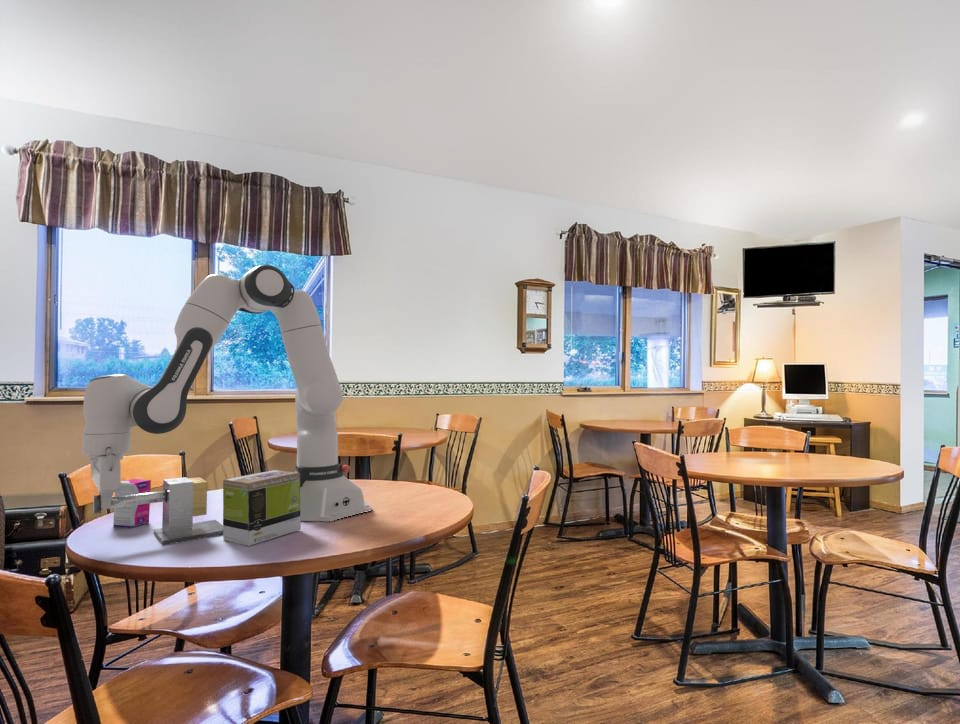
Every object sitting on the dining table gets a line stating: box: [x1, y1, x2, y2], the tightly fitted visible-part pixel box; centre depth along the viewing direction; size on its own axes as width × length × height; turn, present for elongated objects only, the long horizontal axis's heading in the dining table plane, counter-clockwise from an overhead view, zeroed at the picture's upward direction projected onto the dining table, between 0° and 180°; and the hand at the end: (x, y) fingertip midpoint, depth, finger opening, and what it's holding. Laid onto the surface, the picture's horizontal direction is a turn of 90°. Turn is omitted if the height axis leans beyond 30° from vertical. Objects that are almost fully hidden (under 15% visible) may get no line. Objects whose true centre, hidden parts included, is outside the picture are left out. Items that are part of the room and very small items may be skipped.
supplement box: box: [112, 478, 152, 529], centre depth 136 cm, size 6×6×12 cm
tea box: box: [222, 469, 302, 547], centre depth 127 cm, size 15×10×15 cm
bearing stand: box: [153, 476, 223, 546], centre depth 128 cm, size 14×12×13 cm
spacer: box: [187, 476, 208, 518], centre depth 129 cm, size 3×8×8 cm, turn 40°
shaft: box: [92, 490, 168, 515], centre depth 122 cm, size 19×4×4 cm, turn 130°
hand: (105, 506), depth 117 cm, fingers closed on shaft, 2 cm apart
